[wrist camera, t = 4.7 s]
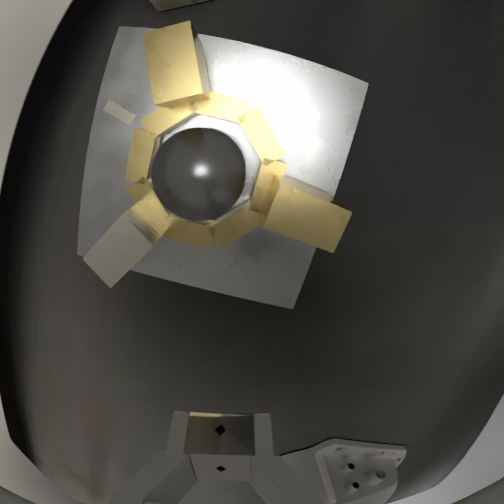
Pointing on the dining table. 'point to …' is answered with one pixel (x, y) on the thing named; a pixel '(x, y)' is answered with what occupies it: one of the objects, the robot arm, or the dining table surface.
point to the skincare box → (172, 3)
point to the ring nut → (237, 220)
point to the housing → (219, 161)
